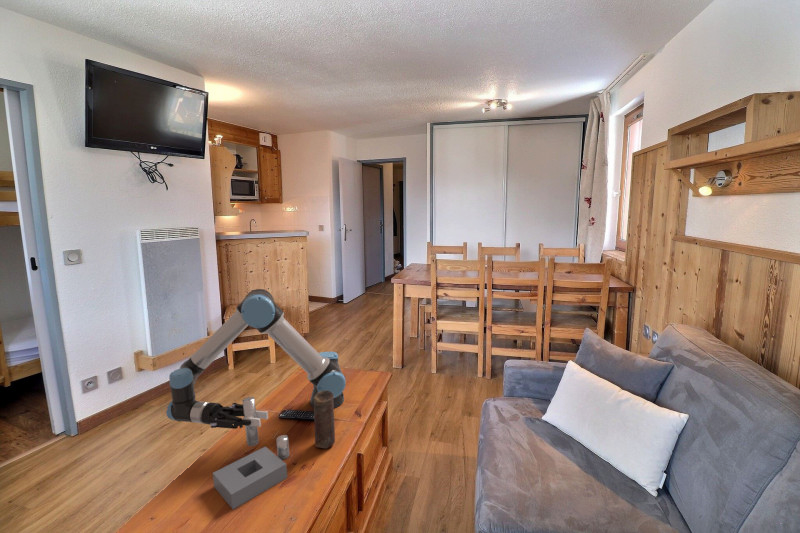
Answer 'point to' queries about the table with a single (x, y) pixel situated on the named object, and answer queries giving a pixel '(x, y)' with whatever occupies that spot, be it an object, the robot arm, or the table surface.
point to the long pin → (251, 412)
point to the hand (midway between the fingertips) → (263, 418)
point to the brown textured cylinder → (324, 419)
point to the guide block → (249, 476)
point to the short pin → (282, 447)
